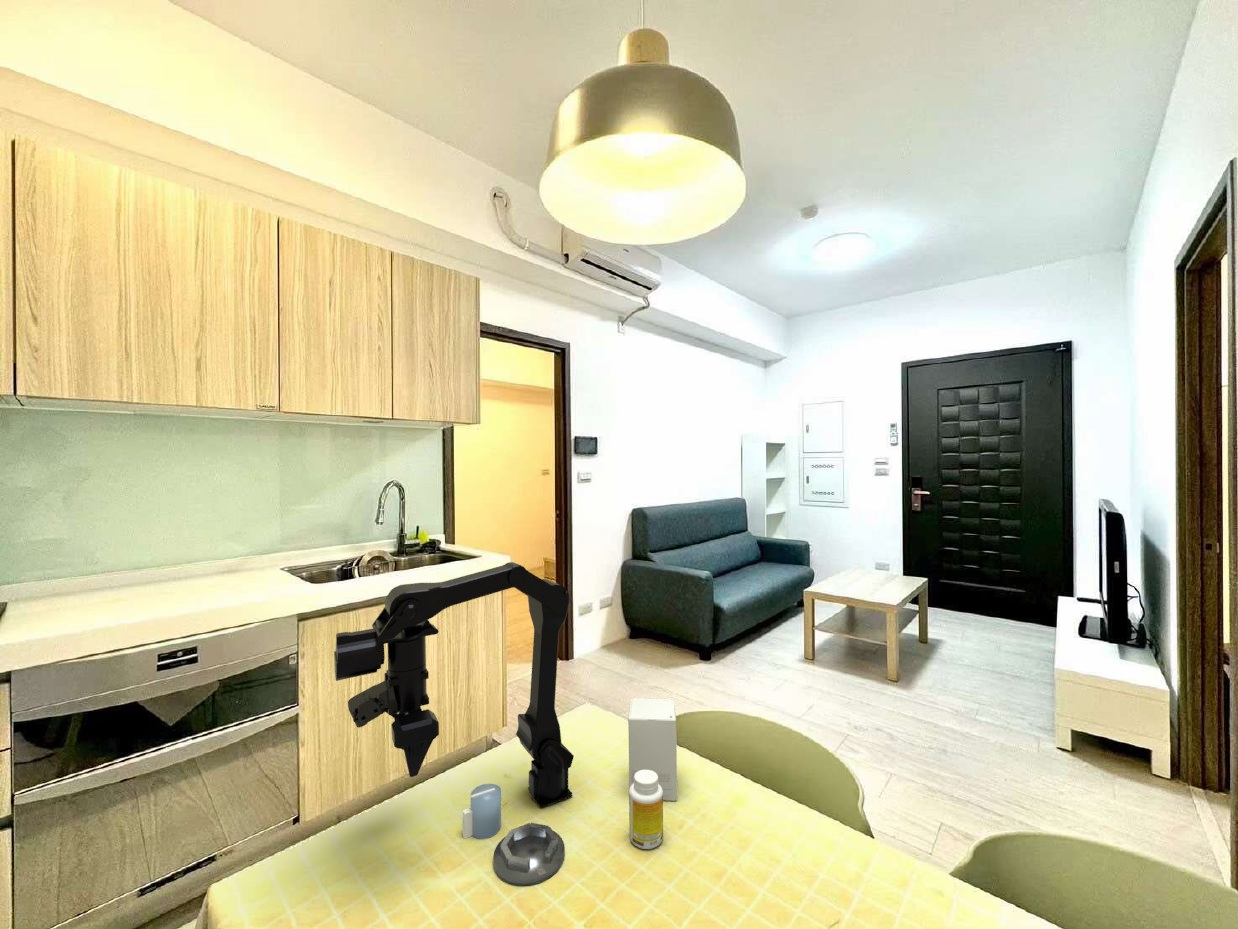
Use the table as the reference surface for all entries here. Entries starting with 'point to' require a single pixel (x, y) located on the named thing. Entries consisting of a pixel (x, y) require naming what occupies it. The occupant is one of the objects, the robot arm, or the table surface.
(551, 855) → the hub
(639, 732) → the supplement box
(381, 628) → the robot arm
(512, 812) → the table surface
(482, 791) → the knob
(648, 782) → the supplement bottle
